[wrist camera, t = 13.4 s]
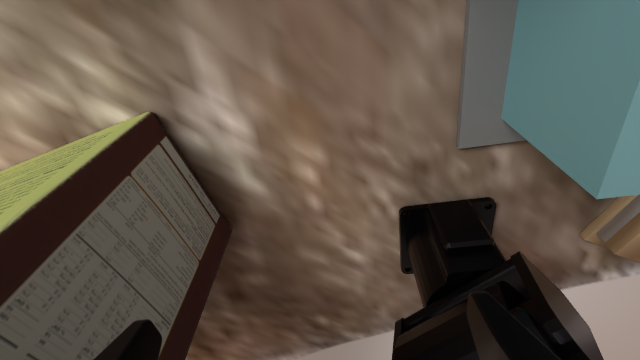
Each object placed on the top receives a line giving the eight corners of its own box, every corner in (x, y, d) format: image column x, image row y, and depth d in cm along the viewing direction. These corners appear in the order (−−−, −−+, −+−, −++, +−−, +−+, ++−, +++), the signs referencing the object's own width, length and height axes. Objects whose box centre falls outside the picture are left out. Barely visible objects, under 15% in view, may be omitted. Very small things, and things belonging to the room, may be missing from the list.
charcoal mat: (574, 129, 20) (580, 133, 19) (456, 145, 21) (458, 148, 20) (658, -170, 13) (669, -175, 13) (476, -132, 14) (481, -135, 13)
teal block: (595, -116, 13) (862, -203, 7) (544, 112, 19) (666, 191, 12) (533, -104, 14) (732, -177, 7) (501, 118, 19) (596, 199, 12)
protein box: (-29, 181, 23) (-504, 461, 10) (153, 107, 20) (-193, 377, 7) (79, 277, 28) (-138, 544, 15) (237, 231, 25) (136, 519, 12)
